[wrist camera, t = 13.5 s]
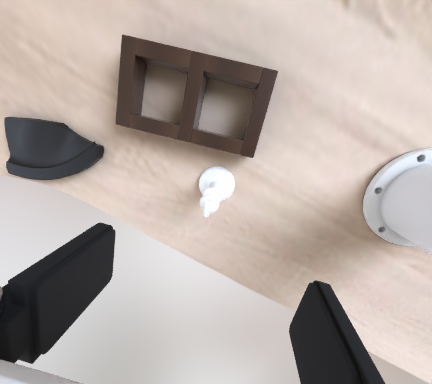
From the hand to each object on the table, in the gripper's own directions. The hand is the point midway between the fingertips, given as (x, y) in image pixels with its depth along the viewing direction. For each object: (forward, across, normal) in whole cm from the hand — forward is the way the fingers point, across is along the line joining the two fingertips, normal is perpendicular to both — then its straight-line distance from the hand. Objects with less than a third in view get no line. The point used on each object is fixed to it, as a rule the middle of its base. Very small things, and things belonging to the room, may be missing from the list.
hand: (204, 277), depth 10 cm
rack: (+19, +6, -9) cm, 22 cm away
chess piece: (+20, +2, +1) cm, 20 cm away
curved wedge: (+19, +26, +2) cm, 32 cm away
